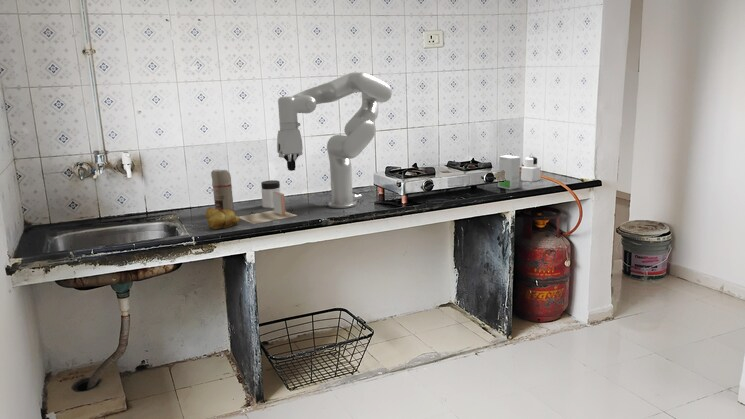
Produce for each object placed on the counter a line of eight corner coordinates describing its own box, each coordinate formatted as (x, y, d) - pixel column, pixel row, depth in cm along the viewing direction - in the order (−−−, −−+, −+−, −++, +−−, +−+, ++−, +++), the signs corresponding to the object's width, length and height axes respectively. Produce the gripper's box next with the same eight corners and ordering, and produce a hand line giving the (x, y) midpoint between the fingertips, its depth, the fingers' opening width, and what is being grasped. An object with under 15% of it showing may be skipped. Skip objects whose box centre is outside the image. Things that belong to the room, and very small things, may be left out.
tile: (277, 212, 265) (276, 191, 263) (285, 215, 259) (284, 194, 257) (274, 212, 264) (272, 192, 262) (282, 215, 258) (280, 194, 256)
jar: (266, 211, 272) (264, 184, 270) (259, 208, 279) (257, 182, 276) (285, 208, 277) (283, 181, 274) (277, 205, 284) (275, 179, 281)
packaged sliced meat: (279, 211, 270) (279, 209, 270) (297, 218, 258) (297, 215, 257) (237, 219, 259) (236, 216, 259) (253, 226, 246) (253, 224, 246)
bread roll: (237, 222, 256) (236, 203, 254) (242, 227, 247) (240, 208, 245) (206, 226, 251) (204, 207, 249) (209, 231, 242) (207, 211, 240)
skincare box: (498, 187, 305) (498, 156, 302) (507, 185, 309) (507, 154, 305) (511, 189, 299) (511, 157, 295) (520, 187, 302) (520, 156, 299)
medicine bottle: (529, 178, 325) (529, 155, 322) (540, 180, 320) (541, 157, 317) (520, 180, 321) (521, 157, 318) (532, 182, 315) (532, 158, 313)
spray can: (211, 214, 270) (207, 169, 265) (228, 211, 275) (224, 166, 270) (220, 217, 264) (216, 171, 259) (237, 214, 269) (233, 168, 264)
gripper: (300, 124, 264) (302, 167, 269) (268, 127, 256) (271, 171, 260) (309, 125, 258) (311, 169, 263) (276, 128, 250) (280, 173, 254)
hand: (291, 170), depth 261 cm, fingers closed
